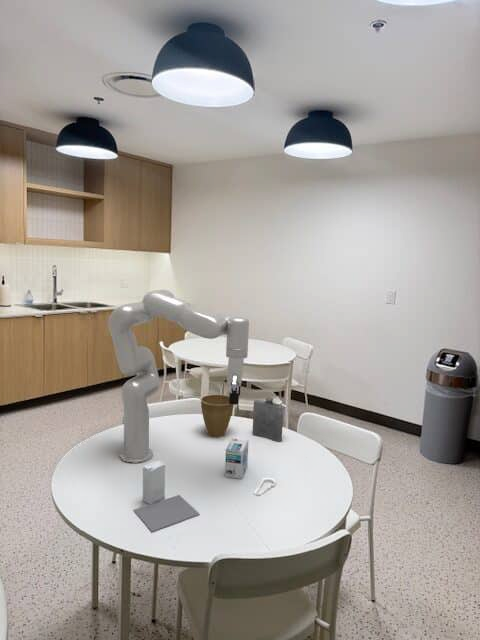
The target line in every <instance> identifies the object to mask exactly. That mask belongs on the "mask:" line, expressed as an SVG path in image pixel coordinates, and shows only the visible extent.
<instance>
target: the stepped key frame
mask: <svg viewBox="0 0 480 640" xmlns="http://www.w3.org/2000/svg"><path fill="white" fill-rule="evenodd" d="M264 483H271V485H269V486H268V487H266V488H265V489H263V491H262V492H260V493H259V494H258V492H259V491H260V489H261V488H262V487H263V485H264ZM276 484H277V480H276V479H274V478H272V477H270V476H269V477H263V478H262V479H261V480H260V482H259V484H258V485H257V486H256V489H255V490H254V491H253V495H254V496H256V497H258V496H259V497H260V496H262V495H264V494H265V493H267V491H270V490H271V489H272V488H275V487H276Z"/></svg>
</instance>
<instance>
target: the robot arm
mask: <svg viewBox="0 0 480 640" xmlns="http://www.w3.org/2000/svg"><path fill="white" fill-rule="evenodd" d="M158 317H160V318H162V319H165V320H168V321H169V322H172V323H176V324H177V325H179V326H180V327H181V328H182V329H184V330H185V331H186V332H189V333H191V334H193V335H195V336H199V337H201V338H204V339H208V340H209V339H211V340H214V339H216V338H217V339H218V338H219V337H222V336H225V335H226V345H225V346H226V347H225V349H226V350H225V356H226V357H227V358H228V361H227V362H228V363H227V377H226V378H227V379H226V386H228V387H229V386H230V391H229V395H228V396H229V404H234V405H237V406H238V405H239V401H240V395H241V386H242V381H243V377H244V376H243V374H244V366H245V365H244V361H245V360H244V359H247V358H248V355H249V354H248V352H249V331H250V321H249V319H248V318H247V317H243V316H230V315H227V314H223V313H219V314H215V315H210V316H208V315H204V314H202V313H199V312H196V311H195V310H193V309H192V308H190V304H189V302H188V301H186V300H183V299H180V298H177V297H175V296H174V294H173V293H172V292H171V291H170V290H167V289H157V290H152V291H151V290H150V291H149V292H147V293H146V294H145V295H144V296H143V298H142V301H139V302H138V301H137V302H133V303H132V302H131V303H126V304H123V305H119V306H118V307H115V309H113V310H112V312H111V313H110V315H109V318H108V322H107V323H108V324H107V325H108V330H109V334H110V336H111V339H112V343H113V348H114V351H115V354H116V355H115V357H116V361H117V363H118V367H119V371H120V372H121V373H122V374H123V375H125V376H132V375H136V376H134V377H132V378H130V379H128V380H127V381H126V382H125V383H123V385H122V387H121V391H120V392H121V400H122V407H123V450H121V451H120V453H119V458H120V457H121V459H123V460H125V461H127V462H126V463H128V462H132V463H131V464H139V462H140V463H145V462H147V461H149V460H151V458H153V455H154V451H153V450H152V449H151V448H150V409H149V406H148V403H147V399H148V398H150V397H152V396H153V395H155V394H156V393H157V392H158V391H159V389H160V388H161V387H160V385H161V383H160V382H161V381H160V376H159V372H158V369H157V363H156V360H155V357H154V354H153V352H152V350H151V349H150V348H148V347H146V346H144V345H143V346H141V345H140V346H138V345H139V344H138V342H137V337H136V335H135V334H134V331H132V330H131V328H132V327H134V326H140V325H142V324H145V323H148V322H150V321H153V320H154V319H157V318H158ZM121 459H120V460H121ZM123 460H122V461H123ZM125 461H124V462H125Z"/></svg>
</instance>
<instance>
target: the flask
mask: <svg viewBox="0 0 480 640" xmlns="http://www.w3.org/2000/svg"><path fill="white" fill-rule="evenodd" d="M252 412H253V413H252V414H253V416H252V433H251V435H253V436H255V437H259V438H260V437H261V438H263V439H268V440H271V441H274V442H277V443H282V441H283V425H284V424H283V423H284V405H282V404H279V403H276V402H274V398H273V397H265V400H260V399H253V411H252Z"/></svg>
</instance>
